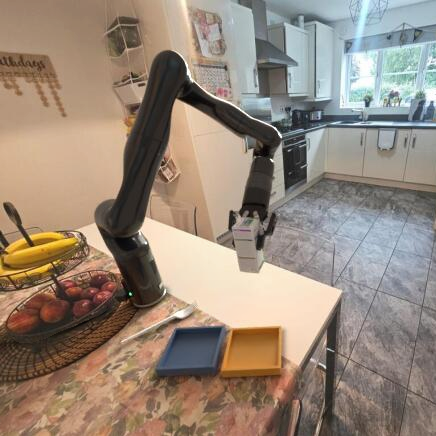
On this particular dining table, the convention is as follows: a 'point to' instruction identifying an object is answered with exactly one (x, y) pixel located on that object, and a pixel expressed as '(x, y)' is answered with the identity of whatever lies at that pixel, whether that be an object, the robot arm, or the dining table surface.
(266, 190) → the robot arm
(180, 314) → the fork
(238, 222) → the syrup box
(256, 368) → the honey tray
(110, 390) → the dining table surface
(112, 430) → the dining table surface
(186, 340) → the blue tray
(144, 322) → the dining table surface
